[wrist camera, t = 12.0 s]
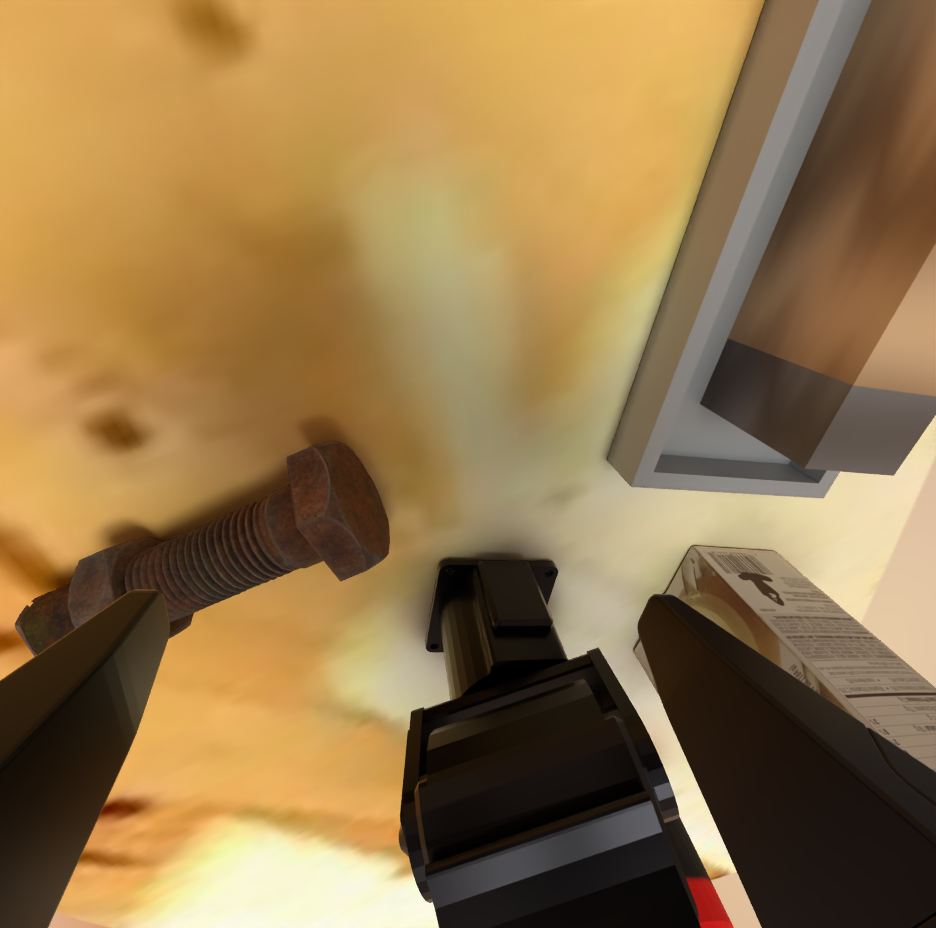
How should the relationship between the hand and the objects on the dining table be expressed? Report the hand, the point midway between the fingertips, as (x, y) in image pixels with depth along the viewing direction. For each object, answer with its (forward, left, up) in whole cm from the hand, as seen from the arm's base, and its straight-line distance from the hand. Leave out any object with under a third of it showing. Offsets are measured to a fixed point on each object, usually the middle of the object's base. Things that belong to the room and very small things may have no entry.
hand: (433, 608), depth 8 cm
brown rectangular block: (+8, -15, -11) cm, 21 cm away
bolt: (-8, +8, -12) cm, 17 cm away
